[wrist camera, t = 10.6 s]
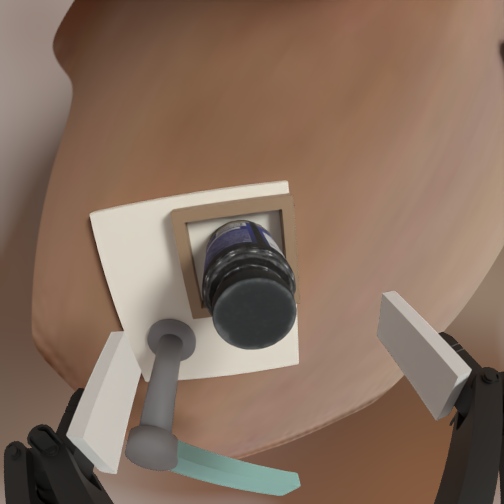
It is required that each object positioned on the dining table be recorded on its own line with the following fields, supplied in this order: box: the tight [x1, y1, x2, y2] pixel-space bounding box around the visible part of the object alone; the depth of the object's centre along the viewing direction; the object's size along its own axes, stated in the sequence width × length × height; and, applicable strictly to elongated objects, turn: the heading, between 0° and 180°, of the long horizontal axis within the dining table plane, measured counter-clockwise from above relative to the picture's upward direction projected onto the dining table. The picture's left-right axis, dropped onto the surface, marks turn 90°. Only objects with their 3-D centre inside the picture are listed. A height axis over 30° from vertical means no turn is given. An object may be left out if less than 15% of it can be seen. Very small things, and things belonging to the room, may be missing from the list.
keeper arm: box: [125, 426, 300, 496], centre depth 17 cm, size 15×4×2 cm, turn 51°
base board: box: [90, 181, 300, 433], centre depth 22 cm, size 20×18×14 cm
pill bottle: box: [202, 220, 297, 350], centre depth 21 cm, size 6×6×11 cm
